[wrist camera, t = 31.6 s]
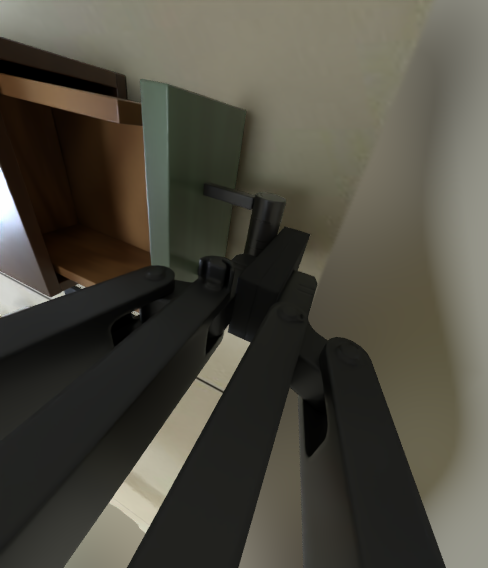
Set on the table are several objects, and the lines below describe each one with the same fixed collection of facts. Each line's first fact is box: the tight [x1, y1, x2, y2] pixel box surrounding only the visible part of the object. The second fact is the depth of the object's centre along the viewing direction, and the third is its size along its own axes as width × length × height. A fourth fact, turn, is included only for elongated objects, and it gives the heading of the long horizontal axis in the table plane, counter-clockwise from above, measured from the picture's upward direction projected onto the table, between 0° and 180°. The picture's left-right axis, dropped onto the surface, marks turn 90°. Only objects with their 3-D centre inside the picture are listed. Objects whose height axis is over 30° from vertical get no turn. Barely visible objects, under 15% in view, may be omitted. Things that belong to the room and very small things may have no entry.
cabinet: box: [0, 37, 127, 297], centre depth 18 cm, size 17×14×9 cm
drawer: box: [0, 73, 286, 313], centre depth 15 cm, size 20×12×7 cm, turn 80°
